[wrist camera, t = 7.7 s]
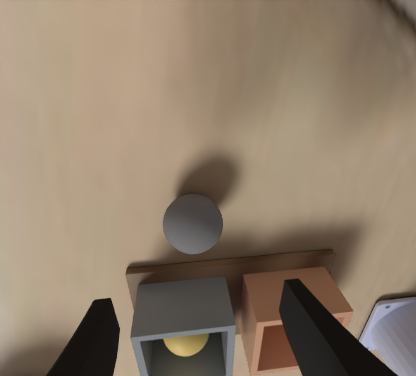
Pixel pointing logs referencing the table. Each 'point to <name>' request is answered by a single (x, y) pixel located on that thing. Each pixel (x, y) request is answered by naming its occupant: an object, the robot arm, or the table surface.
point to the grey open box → (184, 327)
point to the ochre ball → (186, 344)
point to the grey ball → (192, 224)
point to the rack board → (228, 272)
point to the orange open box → (270, 317)
